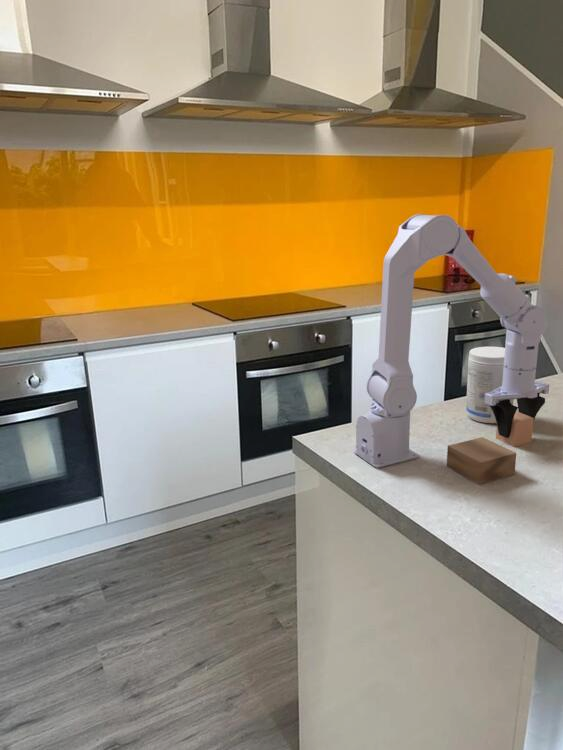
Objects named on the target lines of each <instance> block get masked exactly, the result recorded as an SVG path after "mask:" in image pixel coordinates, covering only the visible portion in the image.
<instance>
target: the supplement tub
mask: <svg viewBox="0 0 563 750" xmlns="http://www.w3.org/2000/svg"><path fill="white" fill-rule="evenodd" d="M504 356H505V347H502V346H501V347H500V346H479V347H474V348H472V349H470V350H469V353H468V362H467V383H466V384H467V385H466V404H465V407H466V409H465V412H466V413H465V414H466V415H467V417H468V418H470V419H471V420H473V421H475V422H478V423H479V422H480V423H482V424H483V423H485V424H497V422H496V419H495V416H494V413H493V411H492V409H491V407H490V405H488V404H486V403H484V402H485V393H489V392H491V391H493V390H495V389H497V388H499V387H501V386H502V381H503V369H504ZM510 403H511V405H514V400H510Z"/></svg>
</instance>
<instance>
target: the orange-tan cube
mask: <svg viewBox="0 0 563 750" xmlns="http://www.w3.org/2000/svg"><path fill="white" fill-rule="evenodd" d="M533 420H535V419H534V418H532V417H530V416H527V415H525V414H522V413H520V412H518V410H517V411H516V413H515V415H514V418H513V421H512V427H511V433H510V436H509V437H508V438H505V437H503V436H501V435H499V432H498V427H497V426H496V431H495V439H496V440H498V441H500V442H503V443H504V444H507V445H509V446H512V447H514V448H515V447H519V446H522V445H526V444H529V443H532V439H533V428H534V421H533Z"/></svg>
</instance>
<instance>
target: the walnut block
mask: <svg viewBox="0 0 563 750" xmlns="http://www.w3.org/2000/svg"><path fill="white" fill-rule="evenodd" d="M516 461H517V452H515V451H513V450H511V449H509V448H507V447H504V446H503V445H500V444H499V443H496V442H494V441H493V440H490V439H488V438H486V437H483V436H481V437H477V438H473V439H469V440H466V441H460V442H458V443H454V444H453V443H452V444H448V445H447V451H446V467H447V468H449V469H450V470H452V471H454V472H456V473H458V474H459V475H460V476H463V477H464V478H466V479H468V480H469V481H471V482H473V483H474V484H476V485H483V484H486V483H490V482H492V481H496V480H500V479H503V478H507V477H511V476H513V475H515V473H516V472H515V471H516V465H517V464H516V463H517V462H516Z"/></svg>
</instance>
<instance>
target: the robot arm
mask: <svg viewBox="0 0 563 750" xmlns="http://www.w3.org/2000/svg"><path fill="white" fill-rule="evenodd" d="M440 256H447V257H450V258H453V260H455V262H456V263H458V265H459V266H461V268H463V270H465V272H466V273H467V274H468V275H469V276H471V277H472V278H473V279H474V280H475V281H476V282H477V284H478V285H480V290H479V291H480V292H479V295H480V297H481V298H482V299H483V301H484V302H486V303H487V304H488V306H489V307H490V308H491V309H492V310H493V312H495V313H496V314H497V316H498V317H499V320H500V324H501V327H503V328H505V329H506V333H505V342H504V343H505V344H504V346H505V347H504V348H505V356H504V369H503V381H502V386H501V387H499V388H497V389H495V390H493V391H491V392H489V393H485V402H484V403H486V404H488V405H490V407H491V409H492V411H493V413H494V416H495V419H496V422H497V423H496V428H497V427H498V432H499V435H501V436H503V437H505V438H508V437H509V436H510V433H511V427H512V421H513V418H514V415H515V413H516V411H517V412H520V413H522V414H525V415H527V416H530V417H532V418H534V420H535V418H536V417H537V414H538V413H539V411H540V410H541V408H542V407H543V406H544V405H545V403H546V398H545V397H543V396H540V395H541V394H542V395H547V394H549V393H550V384H549V383H547V382H544V381H537V382H536V373H537V364H538V363H537V362H538V352H539V344H540V343H541V338H542V335H543V333H544V332H545V331H546V329H547V327H548V325H549V320H548V319H547V317H546V313H545V311H544V309H543V308H541V307H540V306H538V305H534V304H532V302H531V300H532V298H531V296H530V295H529V294H525V293H524V292H523V291H522V290H521V288H520V287H518V285H517V283H516V282H517V281H518V279H516V277H514V275H510V274H509V275H508V274H507V273H503V272H501V273H497V272H496V271H495V269H494V268H493V267H492V266H491V264H490V263H489V262H488V260H487V259H486V258H485V256H483V254H482V253H481V252H480V251H479V249H478V248H477V247H476V245H475V244H474V242H472V240H471V239H470V237H469V236H468V234H467V232H466V229H464V228H463V227H462V226H461V225H458V223H457V221H456V220H455V219H454V217H452V216H450V215H447V214H439V215H438V214H437V215H435V214H434V215H430V214H429V215H427V214H424V213H417V214H414V215H412V216H410V217H409V218H408V219H406V220H405V221H404V222H402V223H401V225H399V226H398V231H397V235H396V236H395V238H394V239H393V242H392V244H391V245H390V246H389V249H388V251H387V252H386V254H385V256H384V259H383V264H382V265H383V266H382V284H381V287H382V288H381V302H380V303H381V305H380V319H379V320H380V321H379V322H380V325H379V340H378V341H379V345H378V357H377V359H375V361H374V362H373V363H372V365H371V373H370V375H369V376H368V378H367V381H366V385H365V386H366V393H367V394H368V396H369V397H370V398H372V399H371V404H370V410H368V411H367V412H366V413H365V414H362V415H360V416H359V417H358V418H357V420H356V424H355V425H356V428H355V431H356V432H355V435H356V436H355V437H356V438H355V443H356V444H355V449H354V450H353V452H354V454H356V455H358V456H359V457H360V458H362V460H365V461H366V462H367V463H369V464H370V465H372V466H373V467H375V468H378V469H379V468H382V467H387V466H390V465H395V464H398V463H402V462H407V461H410V460H414V459H418V458H419V457H420V454H419V453H417V452H415V451H413V450H411V449H410V437H411V435H410V434H411V433H410V431H411V411H412V410H413V408H414V407H415V405H416V403H417V399H418V397H417V395H418V394H417V391H416V389H415V386H414V374H413V371H412V368H411V365H410V361H409V360H410V359H409V357H410V343H411V329H412V328H411V327H412V315H413V313H412V311H413V299H414V298H413V297H414V285H415V284H414V283H415V272H417V271H418V270H419V269H420V268H421V267H422V266H424V265H425V264H426V263H428V262H429V261H431V260H433V259H436V258H437V257H440ZM510 400H513V401H514V400H516V403H517V405H514V404H513V405H511V403H510ZM534 420H533V422H534Z"/></svg>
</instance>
